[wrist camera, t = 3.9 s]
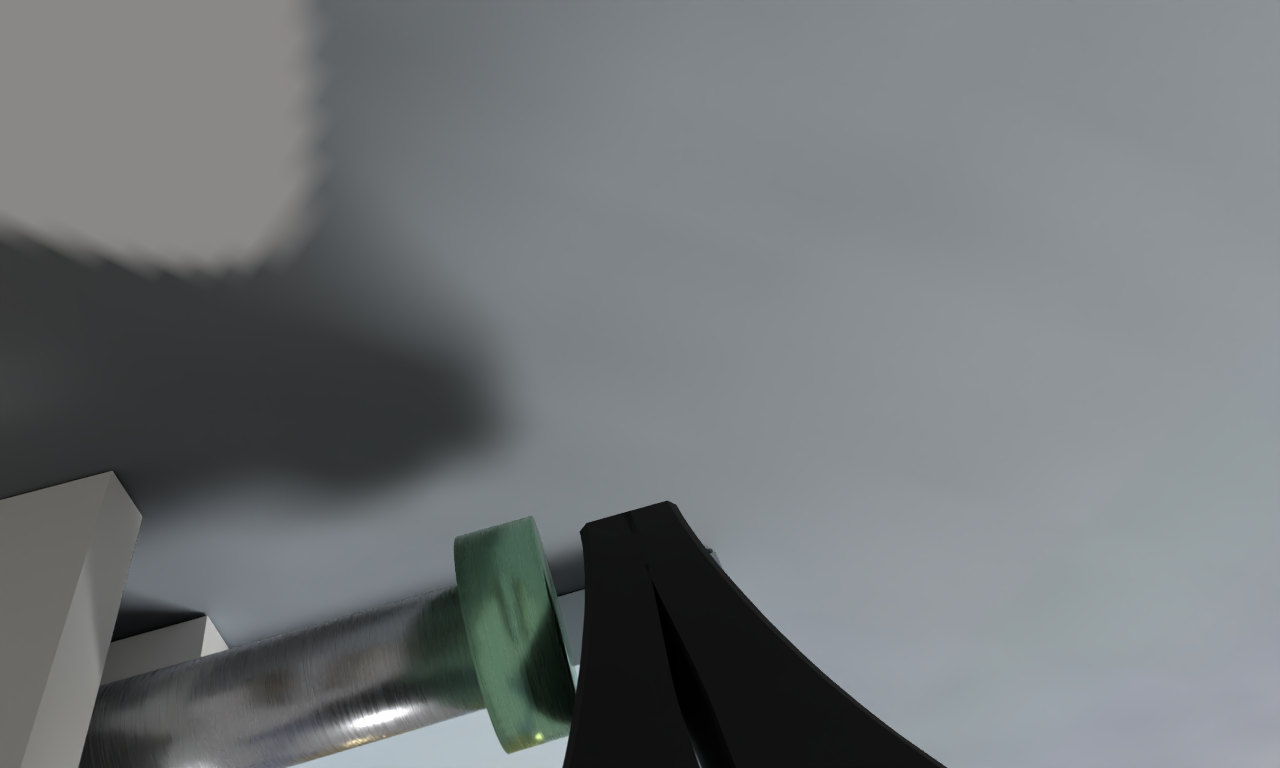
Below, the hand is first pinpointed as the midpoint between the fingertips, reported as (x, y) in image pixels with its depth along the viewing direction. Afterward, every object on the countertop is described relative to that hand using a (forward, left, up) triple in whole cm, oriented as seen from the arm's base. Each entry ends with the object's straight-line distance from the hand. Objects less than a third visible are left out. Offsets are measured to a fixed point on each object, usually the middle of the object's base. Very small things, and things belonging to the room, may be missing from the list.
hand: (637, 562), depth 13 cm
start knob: (0, +5, -1) cm, 5 cm away
